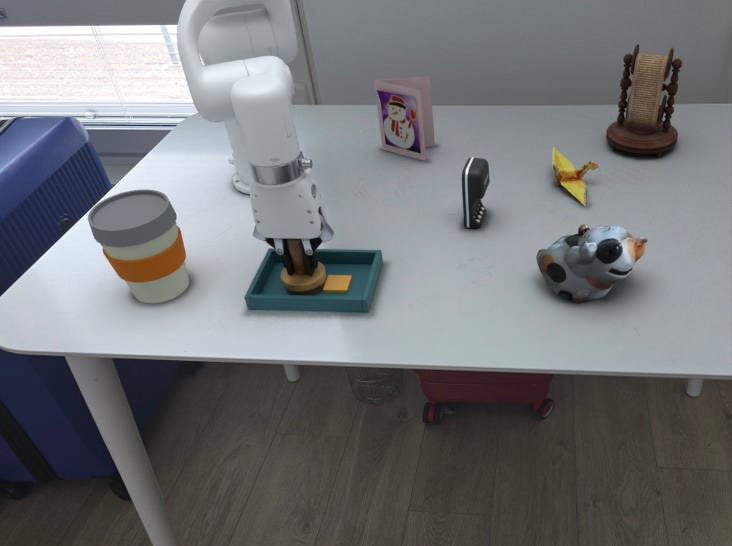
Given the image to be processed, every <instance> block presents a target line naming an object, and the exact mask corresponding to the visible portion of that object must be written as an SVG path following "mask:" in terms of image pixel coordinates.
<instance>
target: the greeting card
mask: <svg viewBox="0 0 732 546" xmlns="http://www.w3.org/2000/svg"><path fill="white" fill-rule="evenodd" d="M373 85H374V86H373V87H374V93H375V102H376V109H377V117H378V125H379V132H380V138H381V139H380V141H381V148H382V150H383V151H387V152H390V153H393V154H398V155H402V156H404V157H405V156H406V157H410V158H413V159H416V160H421V161H424V162H427V156H426V154H427V153H426V148H428V147H429V148H430V147H436V143H435V142H436V141H435V128H434V116H433V115H434V114H433V101H432V87H431V76H420V77H406V78H405V77H403V78H388V79H374V80H373Z"/></svg>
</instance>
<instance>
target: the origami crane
mask: <svg viewBox="0 0 732 546" xmlns="http://www.w3.org/2000/svg"><path fill="white" fill-rule="evenodd" d="M551 153H552V155H551V157H552V158H551V159H552V160H551V161H552V162H551V163H552V164H551V167H552V170H551V171H553V173H554V177H555V178H556V179H557V180H556V184H557V186H558V187H559V186H560V185H561V186H563V188H565V189H566V191H568V192H569V193H570V194H571V195H572V196H573V197H574V198H575V199H577V200H578V201H579V202H580V204H582V205H583V206H584V207H586V202H587V183H586V182H585V181H584V180H583V177H585V175H586V174H587V173H588V171H590V170H591V171H594V170H596V169H598V168H599V164H598V163H596V162H592V161H591V160H589V161H588V162H585V163H584V164H583V165H582V167H581V168H580V169H576V168H575V165H574V164H573V163H572V162H571V161H570V160H569V159H568V158H567V157H565V156H564V155H563V154H562V153H560V151H559V150H557V148H556V147H555V146H553V147H552V152H551Z"/></svg>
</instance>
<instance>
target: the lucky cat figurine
mask: <svg viewBox="0 0 732 546" xmlns="http://www.w3.org/2000/svg"><path fill="white" fill-rule="evenodd" d="M648 240H649V239H648V238H646V237H641V236H638V237H637V238H635V237H634V236H633V235H632V234H631V232H629V231H628V230H626V229H625V228H623V227H622V226H617V225H605V226H596V227H592V228H591V229H590V226H589V225H588V224H586V223H583V224H581V225H580V226H578V229H577V233H574V234H573V233H572V234H566V235H563V236H560V237H559V238H558V239H556V240H555V242H553V243H552V244H551V245H550V246H548V247H547V248H541V249H539V250H538V251H537V253H536V256H535V257H536V264H537V267H538V269H539V271H540V273H541V275H542V277H543V279H544V281H545V282H546V284H547V285H548V286H549V288H551V290H552V291H553V292H554V293H555V294H556V295H558V296H566V298H567V299H568V300H569V301H572V302H574V303H578V302H579V303H580V302H585V301H592V300H593V301H594V300H598V299H599V300H600V299H602V298H605V297H606V296H607V294H608V293H609V292H610V290H611V289H612V288H613V286H614V285H615V283H618V282H620V281H623V280H624V279H625V278H627V277H628V276H629V275H631V273H632V271H633V269H634V267H635V266H636V263H637V261H639V260H640V259H641V258H642V257H643V256H644V254H645V250H646V248H647V245H648Z"/></svg>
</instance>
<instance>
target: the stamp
mask: <svg viewBox="0 0 732 546" xmlns="http://www.w3.org/2000/svg"><path fill="white" fill-rule="evenodd" d="M286 241H287V245H288V249H289V253H290V257H291V261H292V265H293V268H294V273H293V274H292V275H288V273H287V270H286V268H284V269H283V270H282V272H281V280H282V283H283V285H284V287H285V290H286V292H287V293H288V294H289V295H300V296H314V295H316V294H318V293H320V292H321V291H322V290H323V288H324V285H325V283H326V271H325V267H324V265H323V264H322V263H320V262H319V261H318V267H317V268H315V270H314V273H313V275H312V276H309V275H307V271H306V267H305V263H304V259H303V255H304V253H305V251H304V246H303V243H302V240H301V239H295V238H287V239H286Z"/></svg>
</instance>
